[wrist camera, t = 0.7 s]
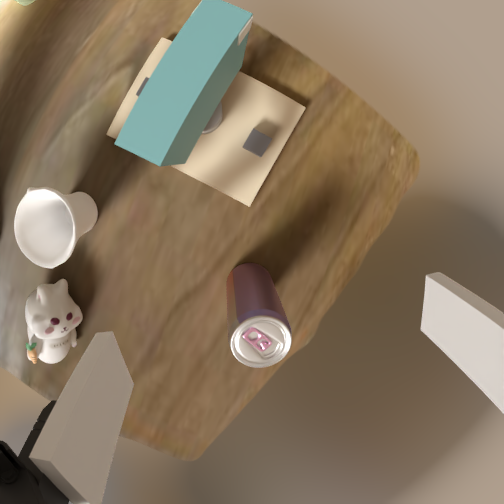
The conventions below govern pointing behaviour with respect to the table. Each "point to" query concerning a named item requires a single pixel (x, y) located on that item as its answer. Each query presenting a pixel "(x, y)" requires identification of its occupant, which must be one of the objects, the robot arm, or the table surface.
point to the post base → (230, 132)
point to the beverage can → (256, 317)
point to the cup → (52, 224)
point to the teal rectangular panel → (187, 84)
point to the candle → (25, 2)
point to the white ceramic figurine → (51, 322)
